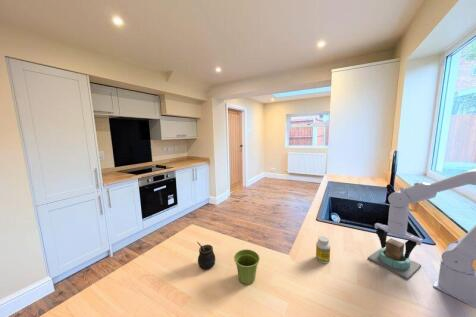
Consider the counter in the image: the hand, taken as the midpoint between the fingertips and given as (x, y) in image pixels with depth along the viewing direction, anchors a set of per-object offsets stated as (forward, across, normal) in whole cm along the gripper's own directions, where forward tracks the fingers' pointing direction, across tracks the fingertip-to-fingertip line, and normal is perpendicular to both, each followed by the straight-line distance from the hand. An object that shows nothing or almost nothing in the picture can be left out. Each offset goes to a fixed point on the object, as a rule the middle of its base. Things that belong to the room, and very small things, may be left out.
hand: (394, 252), depth 73 cm
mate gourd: (+5, +38, +67) cm, 77 cm away
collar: (+5, 0, 0) cm, 5 cm away
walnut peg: (+4, 0, 0) cm, 4 cm away
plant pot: (+5, +24, +56) cm, 61 cm away
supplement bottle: (+5, +16, +23) cm, 28 cm away
